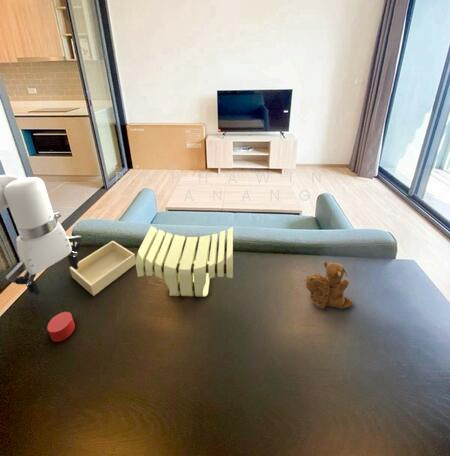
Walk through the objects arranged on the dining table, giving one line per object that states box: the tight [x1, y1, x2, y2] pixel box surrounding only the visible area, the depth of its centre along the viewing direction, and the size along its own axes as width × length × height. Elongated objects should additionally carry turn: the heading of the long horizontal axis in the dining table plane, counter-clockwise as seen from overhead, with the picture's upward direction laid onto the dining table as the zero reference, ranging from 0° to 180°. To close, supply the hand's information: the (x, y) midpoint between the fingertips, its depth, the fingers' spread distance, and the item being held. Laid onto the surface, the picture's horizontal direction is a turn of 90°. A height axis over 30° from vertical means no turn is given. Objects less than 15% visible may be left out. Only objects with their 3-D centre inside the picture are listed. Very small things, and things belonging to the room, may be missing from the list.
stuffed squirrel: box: [304, 260, 353, 310], centre depth 78 cm, size 10×14×13 cm
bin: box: [69, 240, 136, 297], centre depth 92 cm, size 14×17×5 cm
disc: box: [46, 311, 76, 343], centre depth 71 cm, size 6×6×4 cm
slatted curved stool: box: [135, 225, 234, 297], centre depth 84 cm, size 30×16×18 cm, turn 88°
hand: (56, 278), depth 66 cm, fingers open, 9 cm apart
